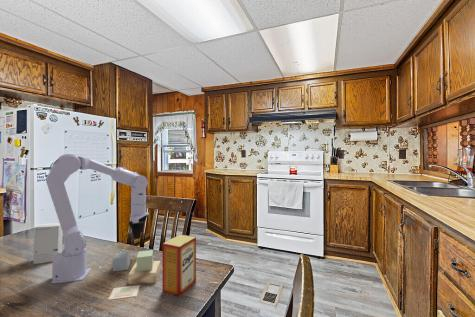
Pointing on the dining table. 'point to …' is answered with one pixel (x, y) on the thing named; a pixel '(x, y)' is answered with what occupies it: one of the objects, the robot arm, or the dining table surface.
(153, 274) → the birch base block
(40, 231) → the skincare box
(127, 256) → the dusty blue block
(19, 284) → the dining table surface
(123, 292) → the card
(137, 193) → the robot arm
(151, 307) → the dining table surface
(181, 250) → the baking soda box
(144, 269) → the sage green block
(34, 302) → the dining table surface
